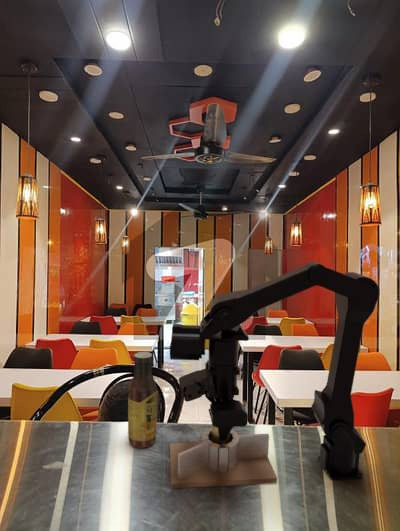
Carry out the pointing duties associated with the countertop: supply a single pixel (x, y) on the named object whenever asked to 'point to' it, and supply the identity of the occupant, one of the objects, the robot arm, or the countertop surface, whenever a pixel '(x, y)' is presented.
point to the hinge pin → (217, 435)
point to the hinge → (222, 453)
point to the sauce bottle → (142, 403)
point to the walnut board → (241, 475)
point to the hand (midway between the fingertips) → (220, 434)
